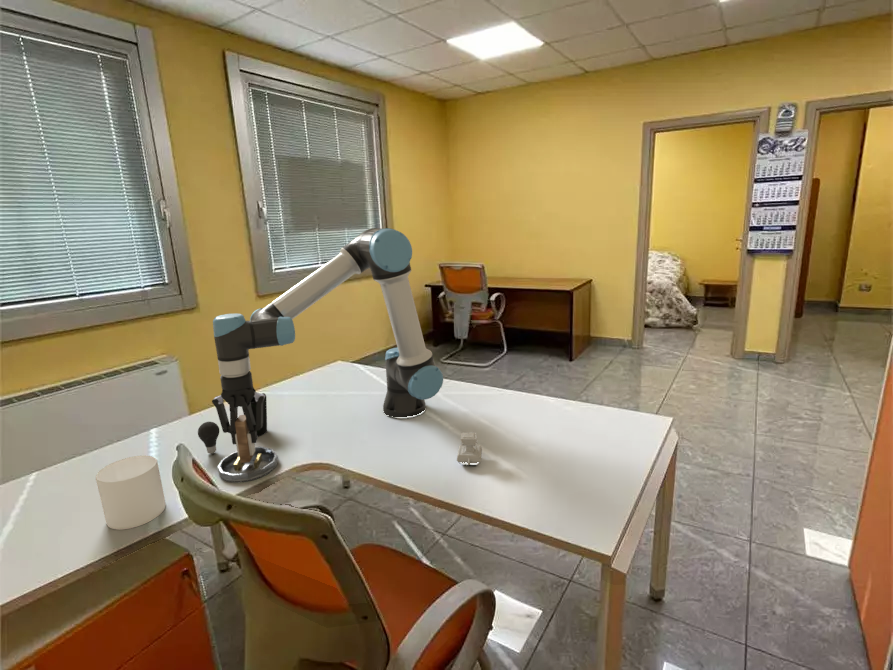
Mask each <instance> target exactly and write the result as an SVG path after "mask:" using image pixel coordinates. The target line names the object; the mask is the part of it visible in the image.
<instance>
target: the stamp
mask: <svg viewBox="0 0 893 670" xmlns="http://www.w3.org/2000/svg"><path fill="white" fill-rule="evenodd" d="M460 441H461V444H460V445H459V446H458V451H457V455H456V456H457V457H456V461H457V462H458V463H459V462H462V463H463V462H464V463H465V462H467V463H468V465H470V463H477V462H479V464H480V463H481V462H482V451H483V447H482V445H477V444H478V438H477V432H461V435H460Z"/></svg>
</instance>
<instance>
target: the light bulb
mask: <svg viewBox="0 0 893 670" xmlns="http://www.w3.org/2000/svg"><path fill="white" fill-rule="evenodd" d="M197 435H198V438H199V439H200V441H202V442H203V444H204V446H205V448H206V452H207V454H210V455H214V453H216V452H217V439H218V437H219V435H220V427H219V426H218V424H217V423H216V422H213V421H206V422H205V421H204V422H203V423H201V424H200V426H199V427H198V430H197Z"/></svg>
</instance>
